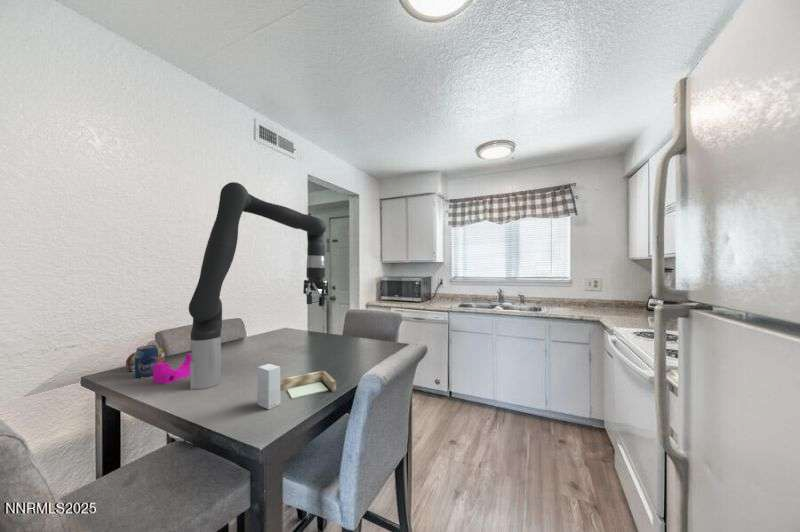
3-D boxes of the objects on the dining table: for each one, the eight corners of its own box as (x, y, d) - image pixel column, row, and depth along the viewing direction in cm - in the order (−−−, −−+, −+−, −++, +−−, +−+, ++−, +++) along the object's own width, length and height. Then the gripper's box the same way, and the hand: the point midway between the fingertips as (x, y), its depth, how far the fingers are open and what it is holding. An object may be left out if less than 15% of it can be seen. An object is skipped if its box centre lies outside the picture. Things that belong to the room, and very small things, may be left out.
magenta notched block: (166, 386, 106) (166, 365, 106) (153, 384, 108) (153, 364, 108) (203, 371, 121) (203, 353, 121) (191, 370, 122) (191, 352, 122)
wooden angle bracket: (286, 403, 92) (286, 392, 92) (279, 389, 103) (279, 379, 103) (336, 391, 101) (336, 381, 101) (324, 379, 112) (324, 370, 112)
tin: (130, 375, 117) (130, 354, 117) (124, 375, 117) (124, 354, 117) (166, 363, 132) (166, 344, 132) (161, 362, 132) (161, 344, 132)
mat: (292, 399, 95) (292, 398, 95) (287, 390, 102) (287, 389, 102) (327, 390, 101) (327, 389, 101) (320, 382, 108) (320, 381, 108)
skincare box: (280, 404, 91) (280, 366, 92) (268, 410, 88) (268, 370, 88) (269, 399, 95) (269, 363, 95) (256, 405, 91) (256, 366, 91)
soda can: (139, 382, 110) (139, 350, 110) (131, 378, 113) (131, 347, 113) (161, 376, 116) (161, 346, 116) (153, 373, 119) (153, 343, 119)
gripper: (298, 266, 124) (297, 304, 124) (318, 266, 115) (318, 307, 115) (313, 266, 130) (312, 303, 130) (333, 266, 121) (333, 305, 121)
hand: (315, 305), depth 122 cm, fingers open, 8 cm apart
